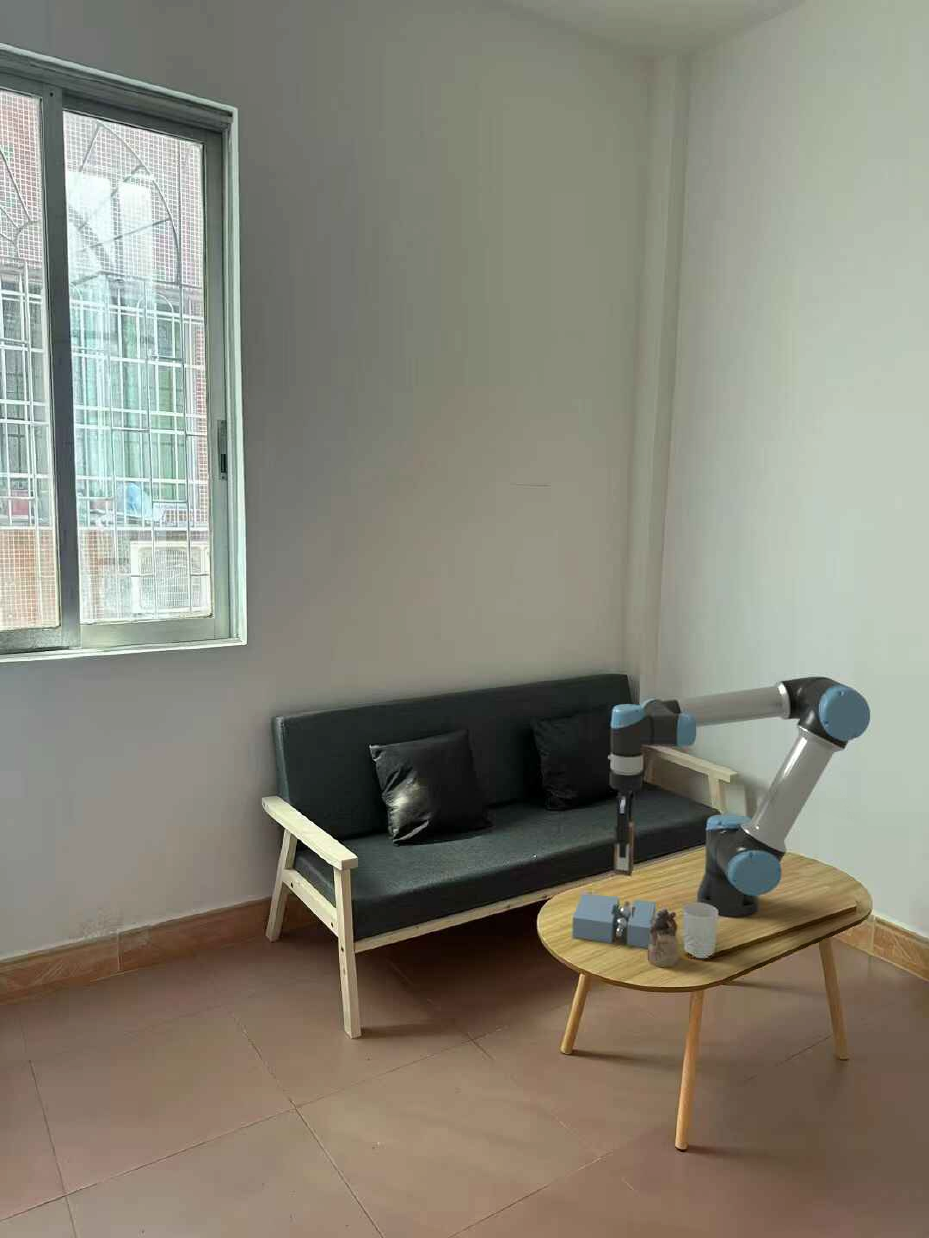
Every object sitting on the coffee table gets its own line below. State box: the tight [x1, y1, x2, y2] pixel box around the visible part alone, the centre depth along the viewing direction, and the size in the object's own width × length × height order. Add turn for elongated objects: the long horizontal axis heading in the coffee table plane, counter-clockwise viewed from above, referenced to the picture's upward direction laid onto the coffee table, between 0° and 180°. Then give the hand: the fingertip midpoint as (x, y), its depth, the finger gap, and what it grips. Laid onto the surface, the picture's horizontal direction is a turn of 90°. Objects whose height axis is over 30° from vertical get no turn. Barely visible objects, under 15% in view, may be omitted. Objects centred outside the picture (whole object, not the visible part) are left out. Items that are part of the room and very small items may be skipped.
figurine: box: [646, 908, 680, 968], centre depth 200 cm, size 7×7×12 cm
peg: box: [613, 820, 635, 877], centre depth 212 cm, size 4×4×12 cm
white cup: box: [682, 902, 719, 959], centre depth 204 cm, size 8×8×10 cm
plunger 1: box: [618, 901, 632, 920], centre depth 219 cm, size 3×6×3 cm, turn 163°
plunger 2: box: [614, 917, 628, 938], centre depth 210 cm, size 3×6×3 cm, turn 163°
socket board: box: [572, 892, 656, 949], centre depth 215 cm, size 18×14×5 cm
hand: (623, 865), depth 212 cm, fingers closed on peg, 4 cm apart
